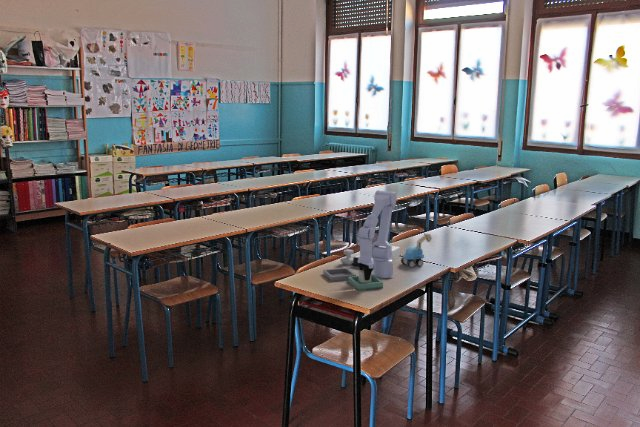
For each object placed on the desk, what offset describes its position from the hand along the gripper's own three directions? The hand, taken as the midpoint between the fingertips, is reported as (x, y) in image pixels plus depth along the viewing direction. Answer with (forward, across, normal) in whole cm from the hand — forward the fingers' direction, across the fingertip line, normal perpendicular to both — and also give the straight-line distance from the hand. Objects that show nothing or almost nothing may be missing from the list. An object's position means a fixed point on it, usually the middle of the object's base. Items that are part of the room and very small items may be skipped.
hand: (365, 278), depth 272 cm
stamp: (+4, -36, +5) cm, 37 cm away
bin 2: (+3, 0, 0) cm, 3 cm away
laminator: (+4, -36, +23) cm, 43 cm away
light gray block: (+1, 0, 0) cm, 1 cm away
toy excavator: (+4, -25, +41) cm, 48 cm away
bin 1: (+3, -15, -8) cm, 17 cm away
